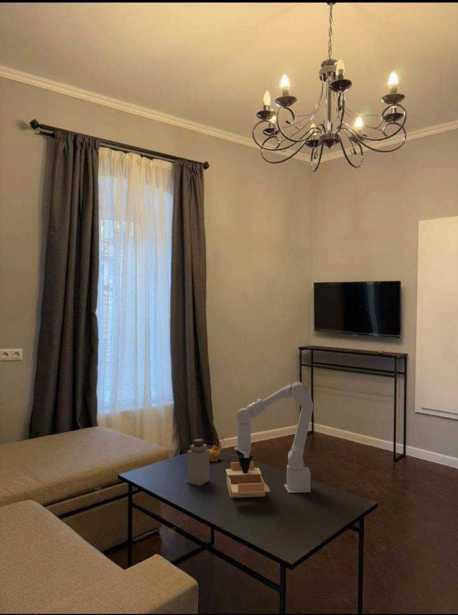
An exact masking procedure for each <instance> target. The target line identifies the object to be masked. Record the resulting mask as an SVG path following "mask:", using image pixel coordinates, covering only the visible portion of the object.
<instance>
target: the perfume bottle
mask: <svg viewBox="0 0 458 615" xmlns="http://www.w3.org/2000/svg"><path fill="white" fill-rule="evenodd" d="M204 441H205V440H204V439H202V438H196V439H193V444H191V445H189V448H190V449H189V450H187V462H186V463H187V466H186V467H187V473H186V476H187V480H186V483H188V484H191V485H195V486H199V487H200V486H203V485H205V484H206V483H208V482H209V481H210V461H209V458H210V456H209V450H208V449H209V448H208V449H207V446H208V444H205V442H204Z"/></svg>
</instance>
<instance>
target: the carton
mask: <svg viewBox="0 0 458 615" xmlns="http://www.w3.org/2000/svg"><path fill="white" fill-rule="evenodd" d="M246 483H264V484H266V483H265V481H264V479H263V477H262V475H239V476H227V475H226V487H227V490H228V495H229V498H230V499H231V498H233V499H234V498H254V497H255V498H257V497H266V492H255V493H232V490H231V487H230V485H238V484H246Z"/></svg>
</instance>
